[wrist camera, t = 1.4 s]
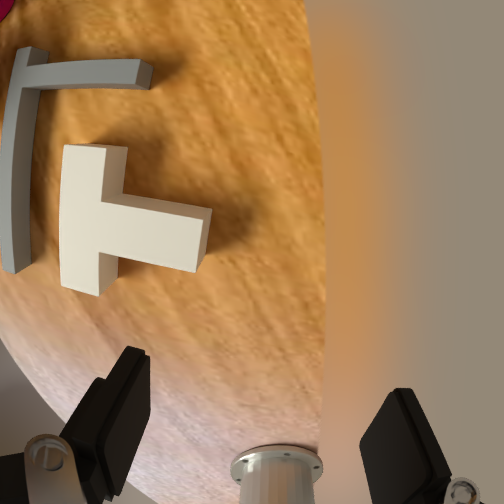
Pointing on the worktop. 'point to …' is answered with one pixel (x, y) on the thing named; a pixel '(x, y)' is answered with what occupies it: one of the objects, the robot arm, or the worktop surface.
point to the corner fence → (23, 127)
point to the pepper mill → (5, 7)
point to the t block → (119, 222)
